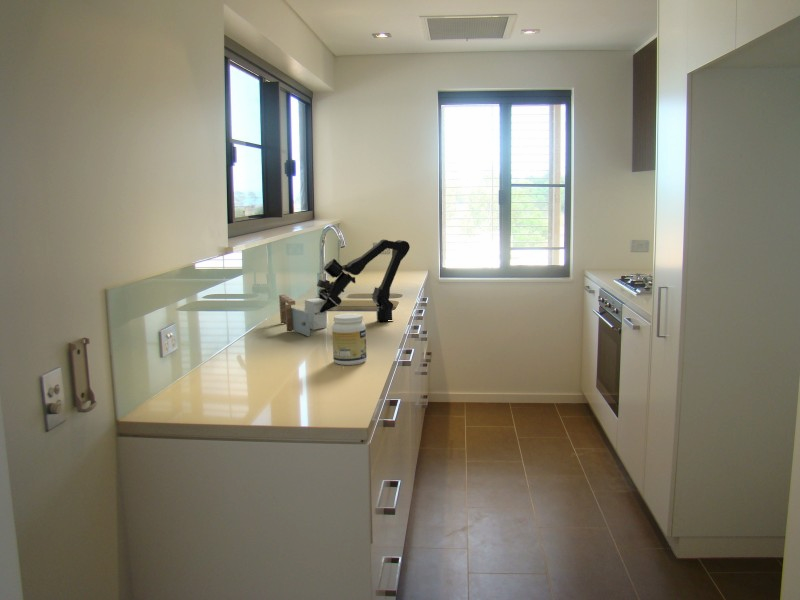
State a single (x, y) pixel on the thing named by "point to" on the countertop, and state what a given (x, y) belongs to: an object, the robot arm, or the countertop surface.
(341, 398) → the countertop surface
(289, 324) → the door frame
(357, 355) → the supplement tub
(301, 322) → the door
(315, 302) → the supplement box
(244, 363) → the countertop surface
